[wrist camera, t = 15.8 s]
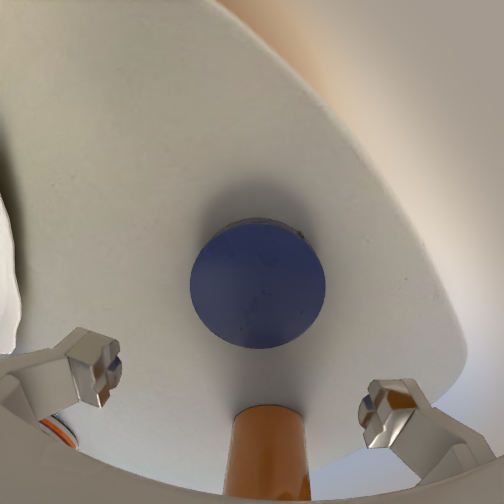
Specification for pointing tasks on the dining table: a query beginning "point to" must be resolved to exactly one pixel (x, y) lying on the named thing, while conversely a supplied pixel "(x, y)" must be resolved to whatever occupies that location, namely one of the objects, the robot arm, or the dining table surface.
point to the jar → (268, 456)
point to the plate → (8, 286)
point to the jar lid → (257, 284)
